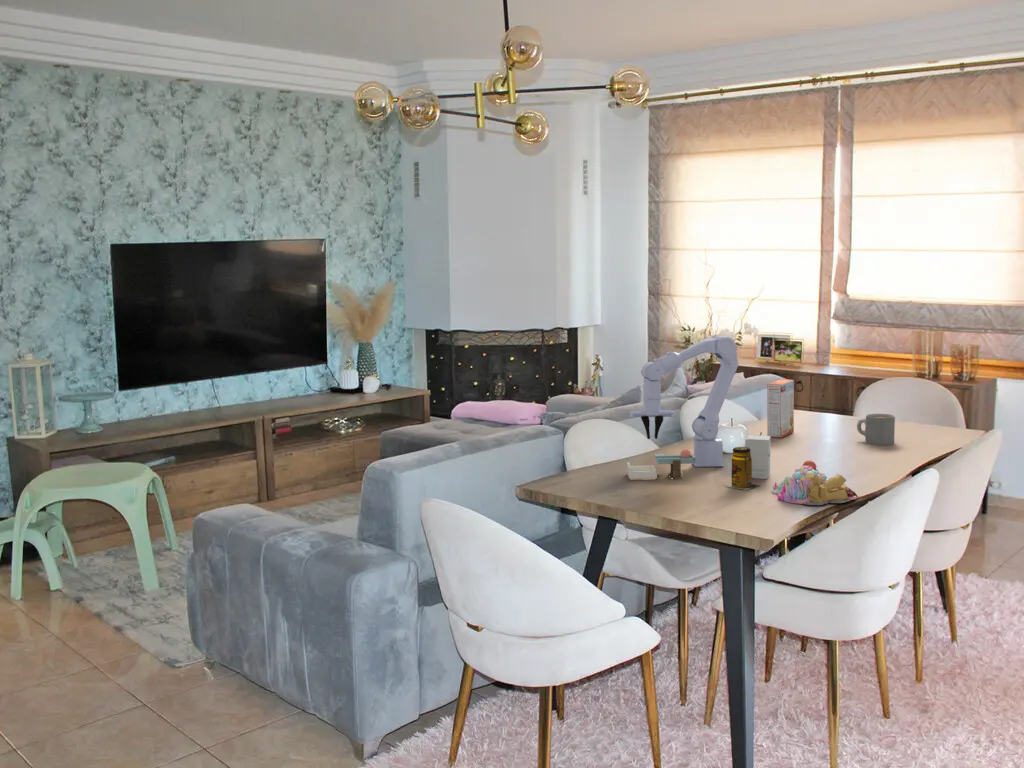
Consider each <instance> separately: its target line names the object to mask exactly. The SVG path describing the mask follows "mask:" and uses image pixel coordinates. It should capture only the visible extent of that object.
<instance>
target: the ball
mask: <svg viewBox="0 0 1024 768" xmlns="http://www.w3.org/2000/svg"><path fill="white" fill-rule="evenodd" d="M691 454H692V453H691V451H690V450H689V449H688V448H687V449H686V448H684V449H682V450H681V451H680V455H681V457H682V458H689V457H690V455H691Z"/></svg>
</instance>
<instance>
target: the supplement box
mask: <svg viewBox="0 0 1024 768" xmlns="http://www.w3.org/2000/svg"><path fill="white" fill-rule="evenodd" d="M771 438H772V437H771V436H767V435H747V437H746V438H745V446H744V447H747V448H750V450H751V451H750V453H751V458H752V479H759V480H761V479H762V480H768V479H769V476H770V474H771V442H772V441H771Z"/></svg>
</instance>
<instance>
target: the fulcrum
mask: <svg viewBox="0 0 1024 768" xmlns="http://www.w3.org/2000/svg"><path fill="white" fill-rule="evenodd" d="M681 465H682V464H681V460H673V464H670V471H667V475H668V474H669V475H668V477H669V476H670V477H669V479H670V478H673V480H684V478H685V477H684V476H683V474H682V468H681V467H682V466H681Z"/></svg>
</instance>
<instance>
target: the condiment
mask: <svg viewBox="0 0 1024 768" xmlns="http://www.w3.org/2000/svg"><path fill="white" fill-rule="evenodd" d="M750 451H751V450H750V448H747V447H745V446H737V447H733V449H732V457H731V484H730V485H729V484H728V485H726V487H727V488H728V487H729V488H733V489H738V490H744V491H747V490H750V489H753V488H755V487H759V486H761V485H762V484H758V483H752V481H753V480H752V479H753V478H752V458H751V453H750Z"/></svg>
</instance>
